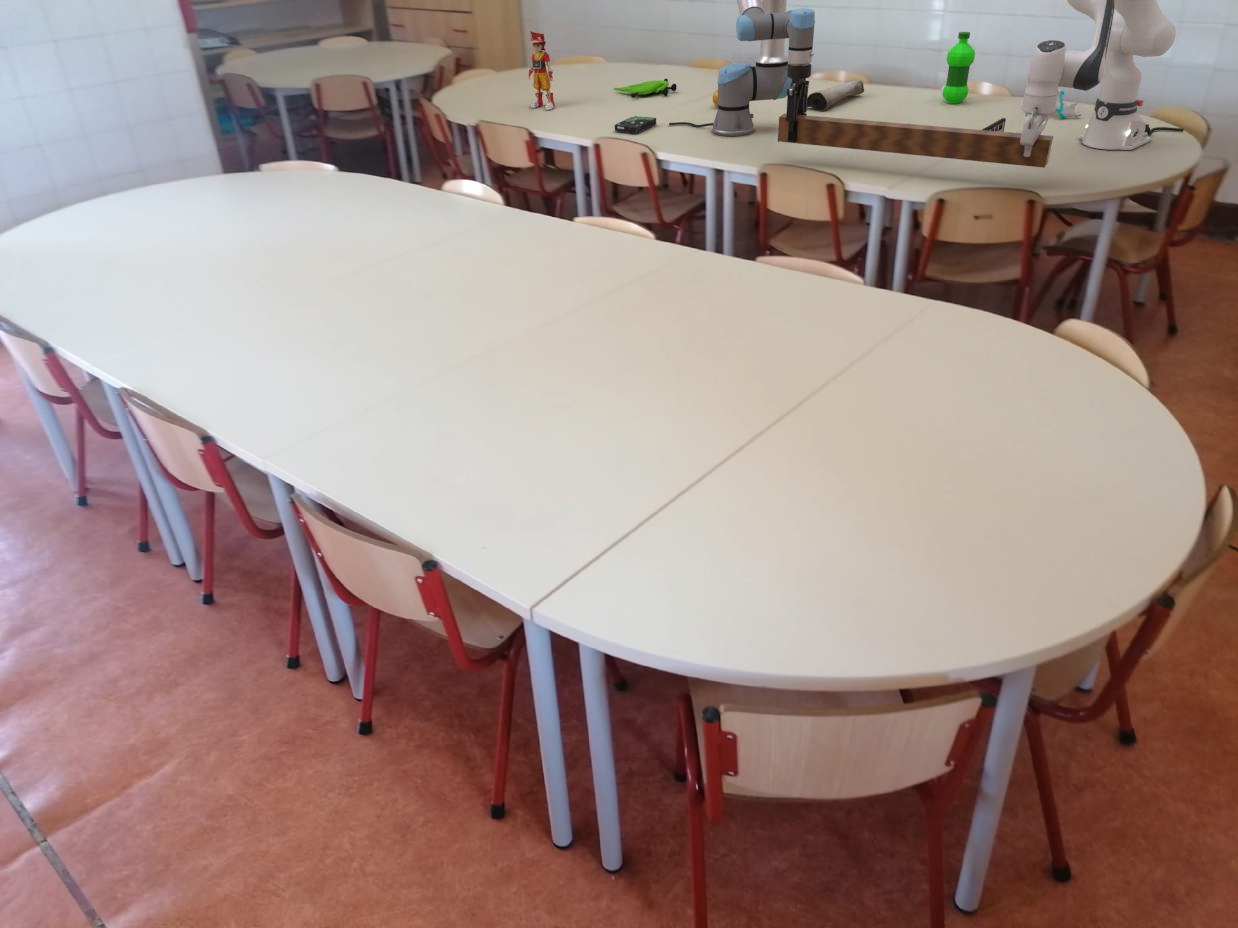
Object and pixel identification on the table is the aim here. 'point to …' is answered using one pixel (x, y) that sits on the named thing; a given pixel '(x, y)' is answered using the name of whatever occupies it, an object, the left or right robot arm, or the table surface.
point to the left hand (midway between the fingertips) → (795, 139)
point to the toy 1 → (541, 71)
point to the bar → (917, 140)
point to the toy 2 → (648, 88)
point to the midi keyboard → (996, 126)
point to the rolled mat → (834, 94)
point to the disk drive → (635, 124)
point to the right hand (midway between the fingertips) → (1029, 153)
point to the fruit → (715, 98)
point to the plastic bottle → (958, 69)
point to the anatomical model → (1065, 107)
